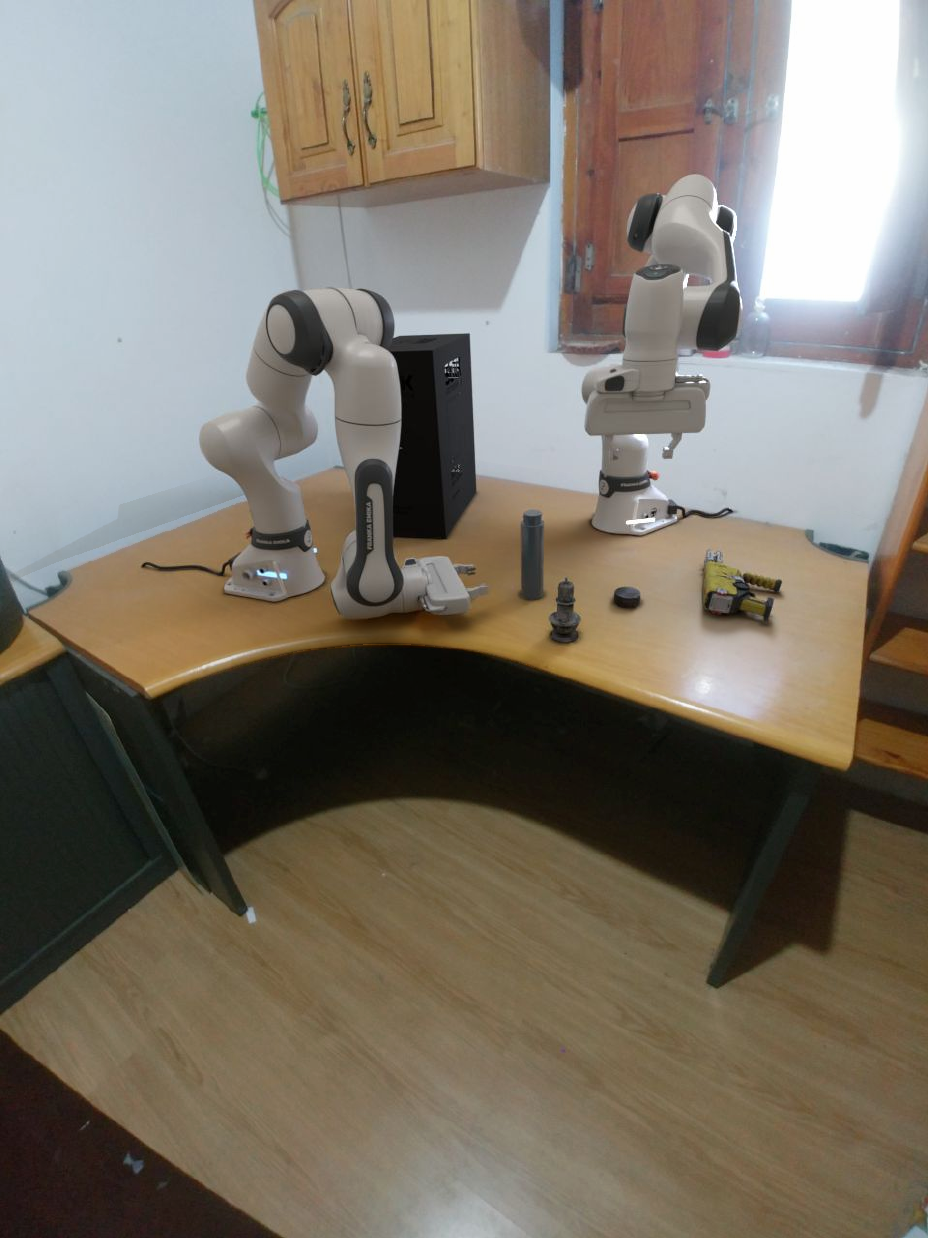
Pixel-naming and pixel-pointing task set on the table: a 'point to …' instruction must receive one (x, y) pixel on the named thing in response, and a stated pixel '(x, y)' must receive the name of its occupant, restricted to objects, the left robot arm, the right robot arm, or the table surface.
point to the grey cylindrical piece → (532, 554)
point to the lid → (627, 597)
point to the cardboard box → (433, 434)
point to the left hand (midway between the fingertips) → (481, 578)
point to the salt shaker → (565, 614)
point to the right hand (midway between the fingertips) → (640, 458)
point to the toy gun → (734, 588)
